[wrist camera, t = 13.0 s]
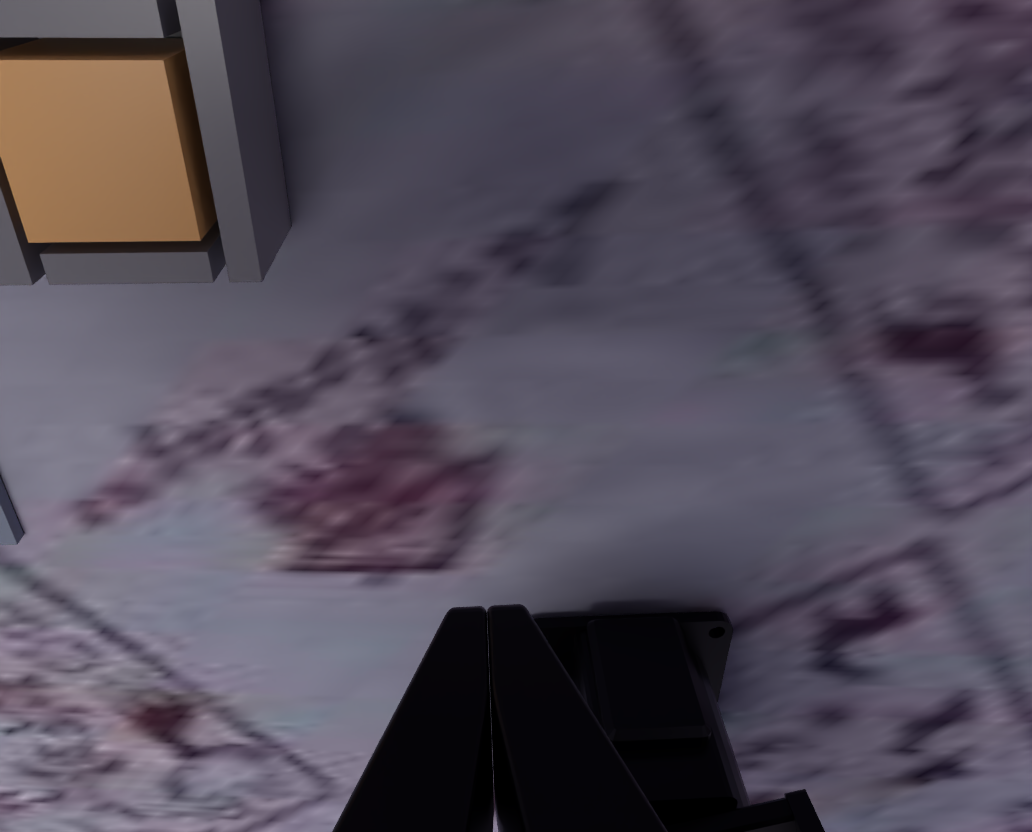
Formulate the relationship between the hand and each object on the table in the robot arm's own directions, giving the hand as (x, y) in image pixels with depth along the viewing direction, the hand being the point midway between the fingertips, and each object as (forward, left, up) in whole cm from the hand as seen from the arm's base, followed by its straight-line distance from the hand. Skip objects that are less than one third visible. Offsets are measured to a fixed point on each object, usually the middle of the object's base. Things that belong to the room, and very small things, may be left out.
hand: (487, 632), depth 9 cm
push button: (+3, +6, -11) cm, 13 cm away
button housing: (+3, +6, -11) cm, 13 cm away
